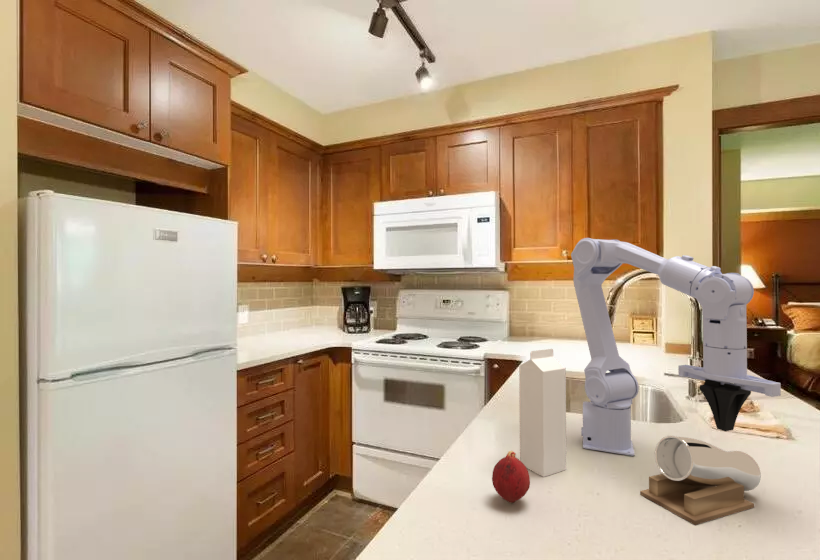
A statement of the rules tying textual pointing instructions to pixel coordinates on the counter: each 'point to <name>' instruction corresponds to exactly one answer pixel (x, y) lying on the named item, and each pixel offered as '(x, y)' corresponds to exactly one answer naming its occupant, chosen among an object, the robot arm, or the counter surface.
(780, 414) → the counter surface
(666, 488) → the cradle
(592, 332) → the robot arm
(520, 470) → the red oval fruit
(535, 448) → the milk
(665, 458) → the beer glass
